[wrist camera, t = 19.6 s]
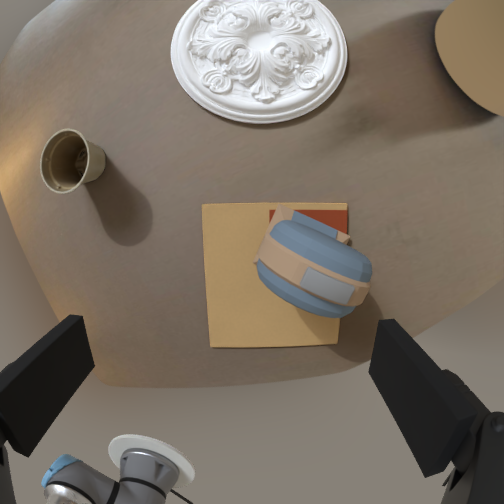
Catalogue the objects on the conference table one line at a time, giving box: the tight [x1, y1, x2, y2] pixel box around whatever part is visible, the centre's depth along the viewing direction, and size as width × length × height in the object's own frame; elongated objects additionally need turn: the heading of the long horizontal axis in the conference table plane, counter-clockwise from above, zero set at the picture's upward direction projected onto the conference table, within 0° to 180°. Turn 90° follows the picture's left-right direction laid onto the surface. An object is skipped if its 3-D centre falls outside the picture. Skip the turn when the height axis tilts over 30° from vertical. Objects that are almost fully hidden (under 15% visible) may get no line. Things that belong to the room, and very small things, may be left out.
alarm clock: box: [253, 204, 372, 318], centre depth 37 cm, size 14×10×18 cm
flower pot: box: [40, 129, 105, 194], centre depth 39 cm, size 9×9×9 cm
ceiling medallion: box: [171, 0, 347, 124], centre depth 38 cm, size 28×28×3 cm
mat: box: [202, 203, 347, 347], centre depth 47 cm, size 24×22×1 cm
